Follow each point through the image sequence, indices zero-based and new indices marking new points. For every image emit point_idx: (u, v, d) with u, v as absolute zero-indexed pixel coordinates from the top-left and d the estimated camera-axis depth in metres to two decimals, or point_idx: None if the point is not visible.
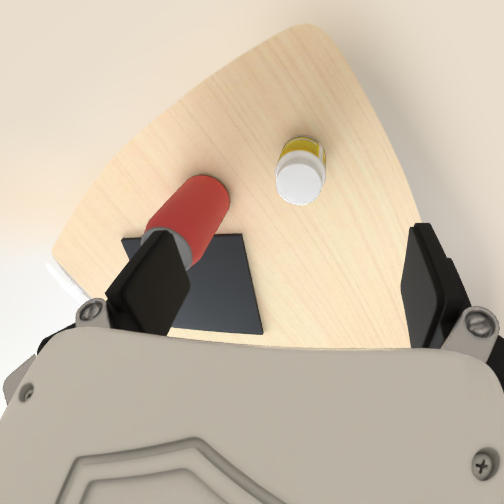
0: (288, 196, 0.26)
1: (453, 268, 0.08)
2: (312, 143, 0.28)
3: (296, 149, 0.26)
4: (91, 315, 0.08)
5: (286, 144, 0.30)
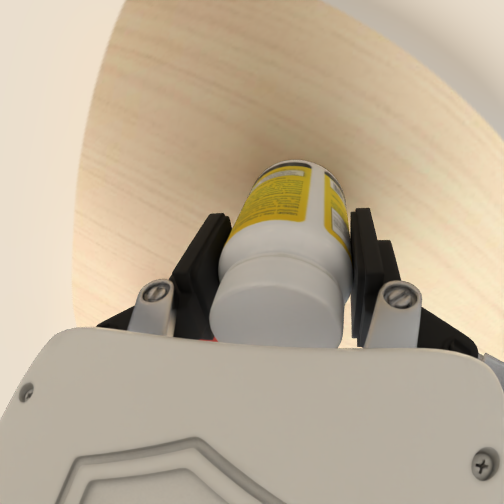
0: None
1: (390, 249, 0.09)
2: (289, 177, 0.12)
3: (240, 226, 0.10)
4: (156, 297, 0.09)
5: None
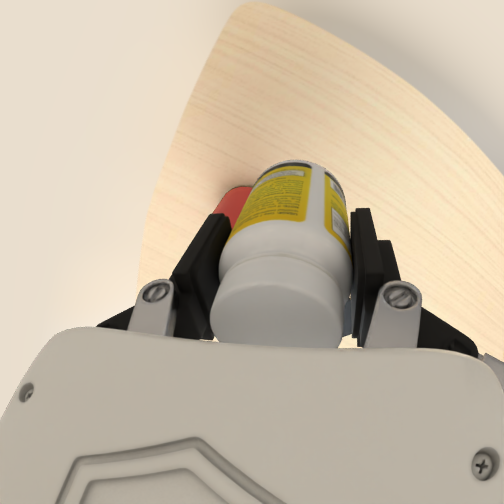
0: None
1: (390, 249, 0.09)
2: (289, 177, 0.12)
3: (240, 226, 0.10)
4: (156, 297, 0.09)
5: None
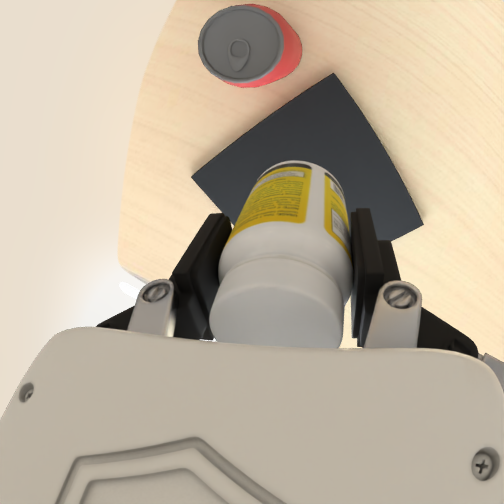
0: None
1: (390, 249, 0.09)
2: (289, 178, 0.12)
3: (240, 227, 0.10)
4: (156, 296, 0.09)
5: None
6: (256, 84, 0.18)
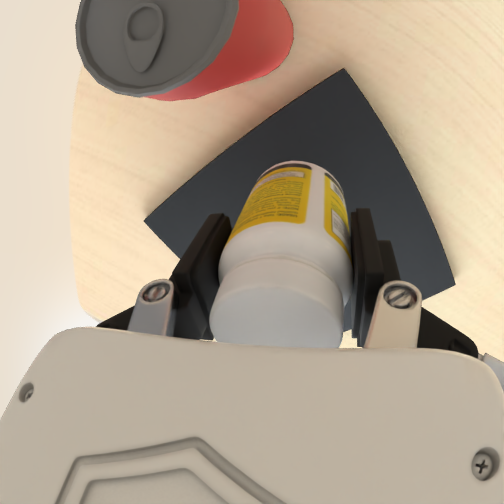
0: None
1: (390, 249, 0.09)
2: (289, 178, 0.12)
3: (240, 227, 0.10)
4: (156, 296, 0.09)
5: None
6: (188, 93, 0.09)
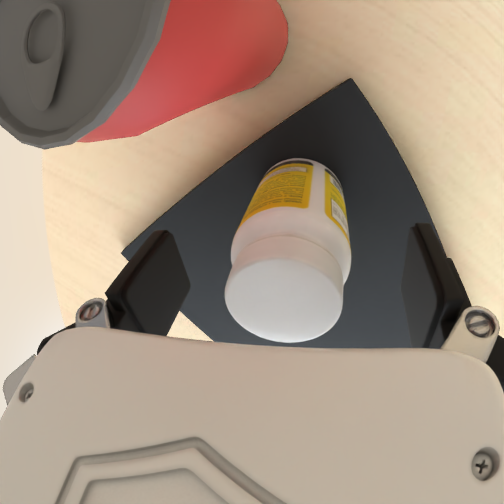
0: (276, 333, 0.11)
1: (453, 268, 0.08)
2: (293, 172, 0.13)
3: (251, 213, 0.11)
4: (91, 315, 0.08)
5: None
6: (119, 133, 0.06)
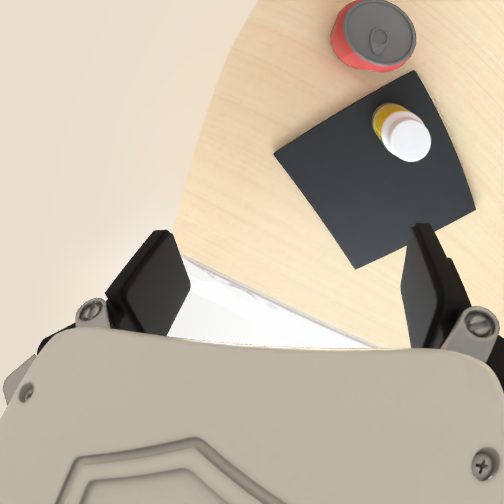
0: (407, 156, 0.23)
1: (453, 268, 0.08)
2: (396, 105, 0.26)
3: (390, 113, 0.24)
4: (91, 315, 0.08)
5: (374, 117, 0.28)
6: (385, 68, 0.18)
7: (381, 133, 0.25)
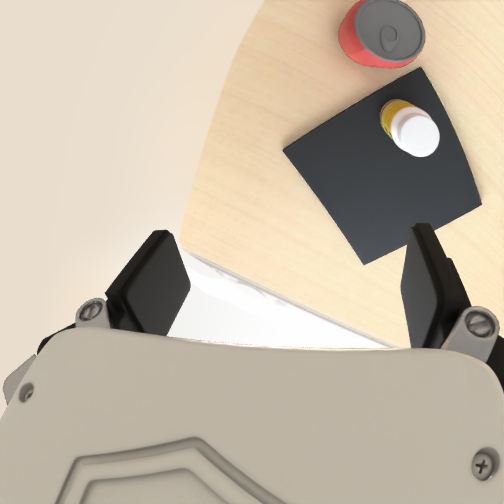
0: (417, 151, 0.23)
1: (453, 268, 0.08)
2: (404, 102, 0.25)
3: (399, 109, 0.24)
4: (91, 315, 0.08)
5: (382, 113, 0.28)
6: (395, 65, 0.18)
7: (390, 129, 0.25)
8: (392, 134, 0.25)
